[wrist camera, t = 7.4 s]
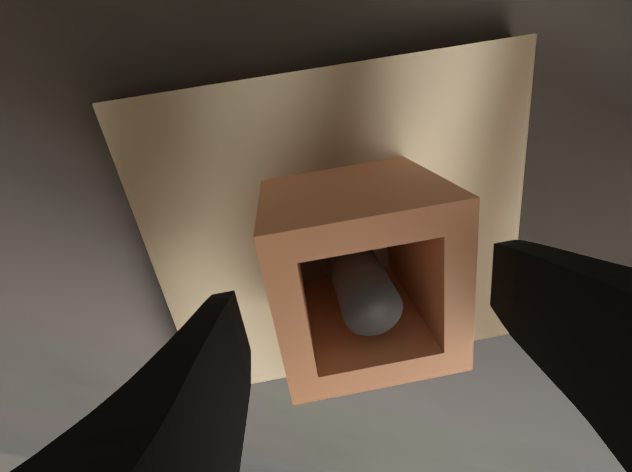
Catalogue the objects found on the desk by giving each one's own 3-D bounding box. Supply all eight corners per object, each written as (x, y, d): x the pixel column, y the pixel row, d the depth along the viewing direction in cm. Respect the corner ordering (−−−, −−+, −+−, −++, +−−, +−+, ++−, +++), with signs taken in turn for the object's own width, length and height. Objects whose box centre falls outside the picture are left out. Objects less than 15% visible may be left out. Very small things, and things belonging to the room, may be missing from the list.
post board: (513, 38, 12) (689, 2, 7) (494, 318, 17) (590, 419, 12) (108, 102, 12) (-24, 114, 7) (205, 373, 17) (173, 505, 11)
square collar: (403, 156, 12) (479, 197, 8) (408, 279, 14) (472, 370, 10) (261, 180, 12) (252, 237, 8) (286, 301, 14) (293, 405, 10)
